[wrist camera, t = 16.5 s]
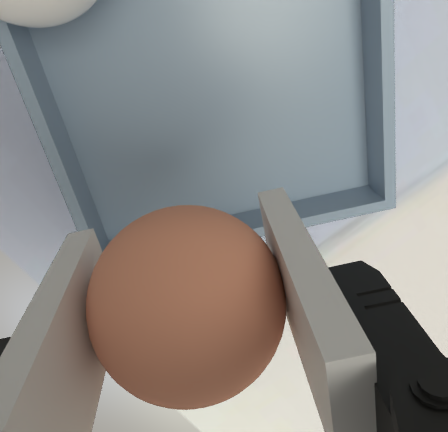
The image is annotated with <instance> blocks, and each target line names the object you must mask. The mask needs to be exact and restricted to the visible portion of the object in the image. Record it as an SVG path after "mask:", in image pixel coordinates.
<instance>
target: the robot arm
mask: <svg viewBox="0 0 448 432" xmlns="http://www.w3.org/2000/svg"><path fill="white" fill-rule="evenodd" d="M258 199H259V204H260V210H261V215H262V221H263V227H264V232H265V238H266V244H267V246H268V247H269V249H270V250H271V252H272V254H273V255H274V257H275V259H276V261H277V263H278V267H279V270H280V273H281V277H282V281H283V286H284V291H285V296H286V316H287V319H288V322H289V325H290V328H291V331H292V334H293V337H294V340H295V343H296V346H297V349H298V352H299V355H300V358H301V361H302V364H303V367H304V370H305V373H306V376H307V379H308V383H309V386H310V389H311V392H312V395H313V398H314V401H315V404H316V407H317V410H318V413H319V416H320V419H321V422H322V425H323V428H324V431H325V432H448V358H446V357H445V356H444V355H443V354H442V353H441V352H440V351H439V349H438V348H437V347H436V345H435V344H434V343H433V341H432V340H431V339H430V337H429V336H428V335H427V333H426V332H425V331H424V329H423V328H422V327H421V325H420V324H419V323H418V321H417V320H416V319H415V318H414V316H413V315H412V314H411V312H410V311H409V310H408V308H407V307H406V306H405V304H404V303H403V302H401V300H400V298H399V296H398V295H397V294H396V292H395V291H394V290H393V289H391V286H390V284H389V283H388V282H387V280H386V279H385V278H384V277H383V275H382V274H381V273H380V271H378V270H377V269H375V268H373V267H371V266H370V265H368V264H366V263H364V262H363V261H357V262H352V263H347V264H343V265H338V266H333V267H329V268H328V267H327V265H326V263H325V261H324V259H323V258H322V256H321V254H320V252H319V250H318V249H317V247H316V245H315V243H314V242H313V240H312V238H311V236H310V234H309V233H308V231H307V229H306V227H305V226H304V224H303V222H302V220H301V218H300V217H299V215H298V213H297V211H296V209H295V208H294V206H293V204H292V202H291V201H290V199H289V197H288V195H287V193H286V192H285V190H284V188H283V187H281V188H277V189H272V190H267V191H263V192H258ZM101 254H102V249H101V247H100V244H99V242H98V239H97V236H96V234H95V231H94V229H93V228H92V229H87V230H83V231H78V232H74V233H69V234H68V235H67V237H66V239H65V240H64V242H63V244H62V246H61V248H60V249H59V251H58V253H57V255H56V257H55V258H54V260H53V262H52V264H51V266H50V268H49V269H48V271H47V273H46V275H45V277H44V278H43V280H42V282H41V284H40V286H39V288H38V289H37V291H36V293H35V295H34V297H33V298H32V300H31V302H30V304H29V306H28V307H27V309H26V311H25V313H24V315H23V316H22V318H21V320H20V322H19V324H18V326H17V327H16V329H15V331H14V333H13V335H12V337H8V338H3V339H0V432H92V428H93V424H94V419H95V415H96V411H97V406H98V402H99V398H100V394H101V389H102V385H103V381H104V376H105V372H106V369H105V368H104V367H103V365H102V364H101V363H100V361H99V359H98V357H97V355H96V353H95V351H94V348H93V346H92V343H91V340H90V338H89V332H88V327H87V322H86V296H87V290H88V285H89V282H90V278H91V275H92V272H93V269H94V267H95V265H96V263H97V261H98V259H99V258H100V256H101Z"/></svg>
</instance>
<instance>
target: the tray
mask: <svg viewBox="0 0 448 432" xmlns="http://www.w3.org/2000/svg"><path fill="white" fill-rule="evenodd" d="M0 45H1V48H2V50H3V53H4V55H5V57H6V60H7V62H8V65H9V67H10V69H11V72H12V74H13V77H14V79H15V82H16V84H17V86H18V89H19V91H20V94H21V96H22V98H23V101H24V103H25V106H26V108H27V111H28V113H29V115H30V118H31V120H32V123H33V125H34V127H35V130H36V132H37V135H38V137H39V139H40V142H41V144H42V147H43V149H44V152H45V154H46V156H47V159H48V161H49V164H50V166H51V168H52V171H53V173H54V176H55V178H56V180H57V183H58V185H59V188H60V190H61V193H62V195H63V197H64V200H65V202H66V205H67V207H68V209H69V212H70V214H71V217H72V219H73V221H74V224H75V226H76V229H77V231H83V230H87V229H92V228H93V229H94V231H95V234H96V236H97V239H98V242H99V244H100V247H101V249H102V252H103V251H104V249H105V248H106V247H107V245H108V244H109V243H110V241H111V240H112V239H113V238H114V237H115V236H116V235H117V234H118V233H119V232H120V231H121V230H122V229H123V228H125V227H126V226H127V225H129V224H130V223H131V222H133V221H135V220H137V219H138V218H140V217H142V216H144V215H146V214H148V213H150V212H153V211H155V210H158V209H162V208H165V207H171V206H177V205H198V206H205V207H210V208H214V209H217V210H220V211H223V212H226V213H228V214H230V215H232V216H234V217H236V218H238V219H239V220H241V221H242V222H244V223H245V224H247V225H248V226H249V227H250V228H252V229H253V230H254V231H255V232H256V233H257V234H258V235H259V236H260V237H263V236H265V232H264V227H263V221H262V215H261V210H260V204H259V199H258V192H263V191H267V190H272V189H277V188H281V187H283V188H284V190H285V192H286V193H287V195H288V197H289V199H290V201H291V202H292V204H293V206H294V208H295V209H296V211H297V213H298V215H299V217H300V218H301V220H302V222H303V224H304V226H305V227H309V226H314V225H319V224H323V223H328V222H333V221H337V220H342V219H346V218H351V217H356V216H360V215H365V214H370V213H374V212H379V211H384V210H388V209H393V208H396V165H395V61H394V0H97V1H96V3H95V4H94V5H93V6H92V7H91V8H90V9H89V10H88V11H86V12H85V13H84V14H82V15H81V16H79V17H78V18H76V19H74V20H72V21H70V22H68V23H65V24H62V25H59V26H54V27H47V28H30V27H22V26H17V25H13V24H10V23H7V22H4V21H2V20H0Z"/></svg>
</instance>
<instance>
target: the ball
mask: <svg viewBox="0 0 448 432" xmlns="http://www.w3.org/2000/svg"><path fill="white" fill-rule="evenodd" d="M285 320H286V296H285V291H284V286H283V281H282V277H281V273H280V270H279V267H278V263H277V261H276V259H275V257H274V255H273V254H272V252H271V250H270V249H269V247H268V246H267V245H266V243H265V242H264V241H263V240H262V239H261V237H260V236H259V235H258V234H257V233H256V232H255V231H254V230H253V229H252V228H250V227H249V226H248V225H247V224H245V223H244V222H242V221H241V220H239V219H238V218H236V217H234V216H232V215H230V214H228V213H226V212H223V211H220V210H217V209H214V208H210V207H205V206H198V205H177V206H171V207H165V208H162V209H158V210H155V211H153V212H150V213H148V214H146V215H144V216H142V217H140V218H138V219H137V220H135V221H133V222H131V223H130V224H129V225H127V226H126V227H125V228H123V229H122V230H121V231H120V232H119V233H118V234H117V235H116V236H115V237H114V238H113V239H112V240H111V241H110V243H109V244H108V245H107V247H106V248H105V249H104V251H103V252H102V254H101V256H100V258H99V259H98V261H97V263H96V265H95V267H94V269H93V272H92V275H91V278H90V282H89V285H88V290H87V296H86V322H87V327H88V332H89V338H90V340H91V343H92V346H93V348H94V351H95V353H96V355H97V357H98V359H99V361H100V363H101V364H102V365H103V367H104V368H105V369H106V371H107V372H108V373H109V375H110V376H111V377H112V378H113V379H114V380H115V381H116V382H117V383H118V384H119V385H120V386H121V387H123V388H124V389H125V390H126V391H128V392H129V393H131V394H132V395H134V396H135V397H137V398H139V399H141V400H143V401H145V402H147V403H150V404H153V405H156V406H161V407H165V408H171V409H182V410H188V409H198V408H204V407H208V406H212V405H215V404H218V403H221V402H223V401H226V400H228V399H230V398H232V397H234V396H235V395H237V394H239V393H240V392H241V391H243V390H244V389H245V388H247V387H248V386H249V385H250V384H252V383H253V382H254V381H255V380H256V379H257V378H258V377H259V376H260V375H261V373H262V372H263V371H264V369H265V368H266V367H267V365H268V364H269V363H270V361H271V359H272V358H273V356H274V354H275V352H276V350H277V347H278V345H279V342H280V340H281V337H282V334H283V330H284V325H285Z"/></svg>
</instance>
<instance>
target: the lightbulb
mask: <svg viewBox="0 0 448 432" xmlns="http://www.w3.org/2000/svg"><path fill="white" fill-rule="evenodd" d="M96 1H97V0H0V20H2V21H4V22H7V23H10V24H13V25H17V26H22V27H30V28H47V27H54V26H59V25H62V24H65V23H68V22H70V21H72V20H74V19H76V18H78V17H79V16H81V15H82V14H84V13H85V12H86V11H88V10H89V9H90V8H91V7H92V6H93V5H94V4H95V3H96Z"/></svg>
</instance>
